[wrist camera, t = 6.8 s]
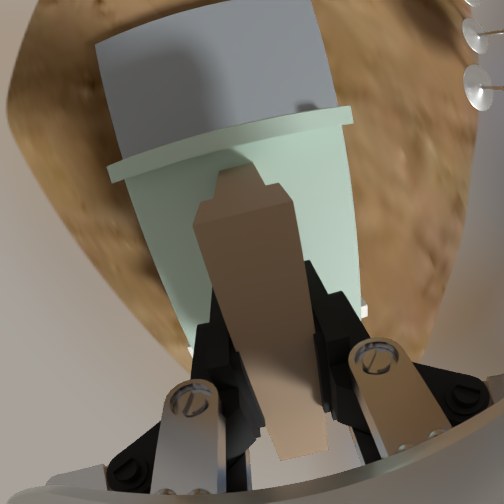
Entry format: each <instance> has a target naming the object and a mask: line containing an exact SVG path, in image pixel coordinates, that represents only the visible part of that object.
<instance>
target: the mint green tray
mask: <svg viewBox="0 0 504 504" xmlns="http://www.w3.org/2000/svg"><path fill="white" fill-rule="evenodd" d="M346 124H353V117H352V112H351V107H350V106H339V107H329V108H321V109H315V110H309V111H302V112H297V113H291V114H286V115H280V116H275V117H270V118H265V119H261V120H256V121H251V122H247V123H243V124H238V125H234V126H230V127H226V128H222V129H218V130H215V131H211V132H207V133H203V134H200V135H196V136H193V137H189V138H186V139H183V140H179V141H176V142H173V143H169V144H166V145H163V146H160V147H157V148H154V149H151V150H148V151H145V152H142V153H139V154H136V155H134V156H131V157H128V158H126V159H123V160H121V161H119V162H116V163H114V164H111V165H109V166H107V170H108V173H109V176H110V180H111V183H115V182H118V181H121V180H125V183H126V186H127V189H128V192H129V195H130V198H131V201H132V204H133V207H134V210H135V212H136V215H137V218H138V221H139V224H140V226H141V229H142V232H143V235H144V237H145V240H146V243H147V245H148V248H149V250H150V253H151V255H152V258H153V261H154V263H155V266H156V268H157V271H158V273H159V275H160V278H161V280H162V283H163V285H164V287H165V290H166V292H167V295H168V297H169V299H170V301H171V304H172V306H173V308H174V311H175V313H176V315H177V317H178V319H179V322H180V324H181V326H182V328H183V330H184V333H185V335H186V337H187V339H188V341H189V343H190V345H191V347H192V349H193V351H194V344H195V336H196V328H197V325H198V324H203V323H208V322H209V320H210V307H211V295H212V287H213V289H214V292H215V295H216V298H217V301H218V304H219V307H220V309H221V312H222V315H223V318H224V320H225V323H226V326H227V329H228V331H229V334H230V337H231V339H232V342H233V345H234V347H235V350H236V352H237V351H239V353H240V356H241V358H242V361H243V364H244V366H245V369H246V372H247V374H248V377H249V380H250V382H251V385H252V388H253V390H254V393H255V395H256V398H257V400H258V403H259V406H260V408H261V411H262V413H263V416H264V418H265V424H266V428H267V430H268V433H269V435H270V438H271V440H272V442H273V444H274V447H275V449H276V451H277V454H278V456H279V458H280V460H281V461H282V460H287V459H292V458H296V457H301V456H305V455H310V454H314V453H318V452H322V451H326V450H328V438H327V428H326V417H325V413H324V411H323V407H322V400H321V392H320V384H319V376H318V368H317V360H316V353H315V346H314V339H313V334H315V327H314V320H313V314H312V307H311V300H310V294H309V288H308V281H307V275H306V269H305V263H304V261H306V260H310V261H311V263H312V265H313V267H314V268H315V270H316V272H317V274H318V276H319V278H320V280H321V281H322V283H323V285H324V287H325V289H326V291H327V293H328V294H331V293H334V292H338V291H343V293H344V294H345V295H346V297H347V299H348V300H349V302H350V304H351V305H352V307H353V309H354V310H355V312H356V314H357V316H358V317H359V319H360V321H361V294H360V274H359V258H358V246H357V234H356V224H355V214H354V205H353V197H352V189H351V182H350V175H349V168H348V161H347V155H346V149H345V143H344V137H343V132H342V126H341V125H346Z"/></svg>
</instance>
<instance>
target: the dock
mask: <svg viewBox="0 0 504 504" xmlns="http://www.w3.org/2000/svg"><path fill="white" fill-rule="evenodd" d="M95 49H96V54H97V59H98V64H99V69H100V74H101V78H102V83H103V87H104V91H105V96H106V100H107V104H108V108H109V112H110V115H111V119H112V123H113V127H114V130H115V134H116V138H117V141H118V145H119V148H120V152H121V155H122V158H123V159H126V158H128V157H131V156H134V155H136V154H139V153H142V152H145V151H148V150H151V149H154V148H157V147H160V146H163V145H166V144H169V143H173V142H176V141H179V140H183V139H186V138H189V137H193V136H196V135H200V134H203V133H207V132H211V131H215V130H218V129H222V128H226V127H230V126H234V125H238V124H243V123H247V122H251V121H256V120H261V119H265V118H270V117H275V116H280V115H286V114H291V113H297V112H302V111H309V110H315V109H321V108H329V107H338V103H337V99H336V94H335V89H334V85H333V80H332V76H331V72H330V68H329V64H328V60H327V56H326V52H325V48H324V44H323V41H322V37H321V33H320V30H319V27H318V23H317V20H316V16H315V13H314V10H313V7H312V4H311V1H310V0H230V1H225V2H220V3H215V4H211V5H207V6H202V7H198V8H194V9H191V10H187V11H183V12H180V13H176V14H173V15H170V16H167V17H163V18H160V19H157V20H154V21H151V22H149V23H146V24H143V25H140V26H138V27H135V28H132V29H130V30H127V31H125V32H122V33H120V34H118V35H115V36H113V37H111V38H108V39H106V40H104V41H102V42H100V43H97V44H95ZM341 126H342V125H341ZM342 132H343V129H342ZM343 137H344V135H343ZM344 143H345V140H344ZM345 149H346V146H345ZM346 155H347V153H346ZM347 161H348V159H347ZM348 168H349V166H348ZM349 175H350V172H349ZM350 182H351V180H350ZM351 189H352V187H351ZM352 197H353V195H352ZM353 205H354V204H353ZM354 214H355V213H354ZM355 224H356V222H355ZM356 234H357V233H356ZM357 246H358V245H357ZM364 317H367V304H366V302H365V301H364V299H363V298H362V296H361V318H364ZM187 348H188V350H189V352H190V354H191V356H192V358H193V353H194V351H193V349H192V347H191V345H190V343H189V341H188V347H187Z"/></svg>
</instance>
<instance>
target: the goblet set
mask: <svg viewBox="0 0 504 504" xmlns="http://www.w3.org/2000/svg"><path fill="white" fill-rule="evenodd" d="M465 1H466V2H467V3H468V4H470V5H471V6H474V7H478V6H479V5H480V4H481V0H465ZM462 31H463V35H464V37H465V39H466V41H467V43H468V44H469V46H470V47H471V48H472V49H473V50H474V51H475V52H477V53H480V54H483V53H485V52H486V51H487V48H488V40H487V35H498V34H504V29H503V30H497V31H491V32H484V30H483V28H482V27H481V26H480V25H479V23H478V22H476V21H475V20H473V19H471V18H466V19H464V21H463V23H462ZM463 85H464V90H465V93H466V96H467V98H468V100H469V102H470V103H471V104H472V105H473V106H474V107H475V108H476V109H478V110H480V111H485V110H487V109H488V108H489V107H490V106H491V104H492V101H493V90H502V91H504V86H492V83H491V80H490V78H489V76H488V74H487V73H486V72H485V70H484V69H483V68H481V67H480V66H478V65H474V64H473V65H469V66H468V67H467V68H466V70H465V72H464V76H463Z"/></svg>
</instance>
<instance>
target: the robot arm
mask: <svg viewBox="0 0 504 504" xmlns="http://www.w3.org/2000/svg"><path fill="white" fill-rule="evenodd" d="M304 263H305V269H306V275H307V281H308V288H309V294H310V300H311V307H312V314H313V320H314V327H315V334H313V339H314V346H315V353H316V360H317V368H318V376H319V384H320V392H321V400H322V407H323V411H324V413H327V412H330V411H331V414H332V418H333V420H337V421H338V422H340V423H342V424H345V425H348V426H349V431H350V433H351V436H352V439H353V441H354V445H355V447H356V450H357V453H358V456H359V459H360V462H361V465H362V466H361V467H358V468H354V469H351V470H348V471H344V472H341V473H337V474H334V475H330V476H326V477H322V478H318V479H314V480H309V481H305V482H300V483H295V484H290V485H285V486H279V487H273V488H266V489H260V490H252V481H251V466H250V452H249V447H250V446H251V445H252V444H253V443H254V442H255V441H256V438H257V437H260V436H261V435H260V427H265V426H266V424H265V418H264V416H263V413H262V411H261V408H260V406H259V403H258V400H257V398H256V395H255V393H254V390H253V388H252V385H251V382H250V380H249V377H248V374H247V372H246V369H245V366H244V364H243V361H242V358H241V356H240V353H239V351H237V352H236V350H235V347H234V345H233V342H232V339H231V337H230V334H229V331H228V329H227V326H226V323H225V320H224V318H223V315H222V312H221V309H220V307H219V304H218V301H217V298H216V295H215V292H214V289H213V287H212V295H211V307H210V320H209V322H208V323H203V324H198V325H197V328H196V336H195V344H194V353H193V361H192V370H191V379H190V380H188V381H185V382H182V383H180V384H178V385H177V386H175V387H174V388H173V389H172V390H171V391H170V392H169V394H168V395H167V396H166V399H165V402H164V407H163V413H162V419H161V421H160V422H159V423H157V424H156V425H155V426H154V427H153V428H151V429H150V430H149V431H147V432H146V433H145V434H144V435H143V436H141V437H140V438H139V439H137V440H136V441H135V442H134V443H132V444H131V445H130V446H128V447H127V448H126V449H124V450H123V451H122V452H121V453H119V454H118V455H117V456H116V457H114V458H113V459H112V460H111V462H110V464H109V465H108V466H105V465H104V464H100V465H97V466H93V467H89V468H85V469H81V470H77V471H72V472H68V473H64V474H59V475H56V476H53V477H51V478H50V479H49V480H48V481H47V483H46V485H45V486H41V487H35V488H29V489H26V490H23V491H20V492H18V493H16V494H14V495H13V496H12V497H11V498H10V499H9V500H8V501H7V503H6V504H504V374H500V375H495V376H489V377H487V379H486V381H481V380H480V379H478V378H476V377H473V376H470V375H466V374H461V373H456V372H452V371H448V370H443V369H438V368H434V367H430V366H426V365H422V364H418V363H414V362H412V361H411V360H410V358H409V357H408V355H407V354H406V352H405V351H404V349H403V348H402V347H401V346H400V345H399V344H398V343H397V342H395V341H393V340H391V339H388V338H383V337H374V338H370V336H369V334H368V333H367V331H366V329H365V327H364V326H363V324H362V322H361V321H360V319H359V317H358V316H357V314H356V312H355V310H354V309H353V307H352V305H351V304H350V302H349V300H348V299H347V297H346V295H345V294H344V293H343V291H338V292H334V293H331V294H328V293H327V291H326V289H325V287H324V285H323V283H322V281H321V280H320V278H319V276H318V274H317V272H316V270H315V268H314V267H313V265H312V263H311V261H310V260H306V261H304Z"/></svg>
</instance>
